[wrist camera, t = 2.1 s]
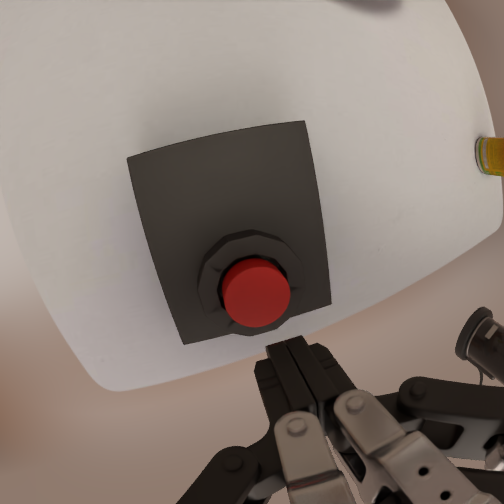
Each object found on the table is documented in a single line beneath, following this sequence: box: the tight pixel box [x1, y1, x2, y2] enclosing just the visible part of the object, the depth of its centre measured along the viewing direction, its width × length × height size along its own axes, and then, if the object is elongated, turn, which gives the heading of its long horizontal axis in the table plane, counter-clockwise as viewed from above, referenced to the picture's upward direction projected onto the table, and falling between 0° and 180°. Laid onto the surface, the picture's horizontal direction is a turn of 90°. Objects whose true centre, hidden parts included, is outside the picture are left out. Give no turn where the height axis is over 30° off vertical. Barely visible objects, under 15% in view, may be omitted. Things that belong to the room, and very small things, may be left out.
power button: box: [222, 258, 290, 327], centre depth 17 cm, size 4×4×2 cm
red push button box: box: [127, 120, 332, 345], centre depth 19 cm, size 14×12×6 cm
